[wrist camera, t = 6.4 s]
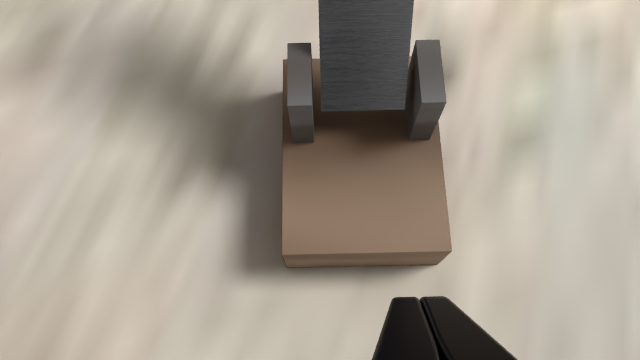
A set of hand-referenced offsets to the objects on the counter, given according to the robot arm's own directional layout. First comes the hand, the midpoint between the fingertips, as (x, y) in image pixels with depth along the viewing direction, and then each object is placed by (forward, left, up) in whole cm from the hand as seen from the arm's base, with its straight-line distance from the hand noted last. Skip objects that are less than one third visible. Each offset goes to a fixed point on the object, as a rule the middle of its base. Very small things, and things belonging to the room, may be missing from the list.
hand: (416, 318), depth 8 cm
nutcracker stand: (+7, -3, -12) cm, 14 cm away
